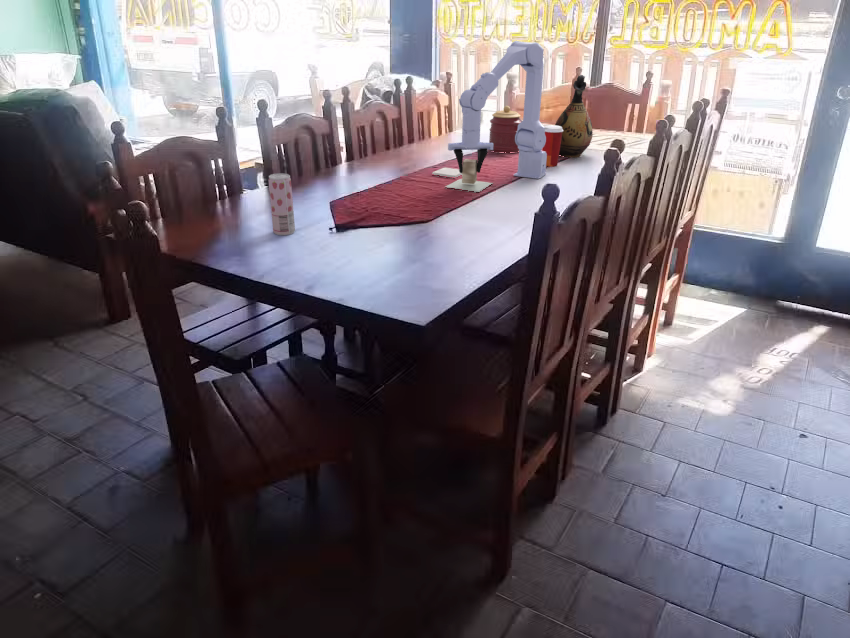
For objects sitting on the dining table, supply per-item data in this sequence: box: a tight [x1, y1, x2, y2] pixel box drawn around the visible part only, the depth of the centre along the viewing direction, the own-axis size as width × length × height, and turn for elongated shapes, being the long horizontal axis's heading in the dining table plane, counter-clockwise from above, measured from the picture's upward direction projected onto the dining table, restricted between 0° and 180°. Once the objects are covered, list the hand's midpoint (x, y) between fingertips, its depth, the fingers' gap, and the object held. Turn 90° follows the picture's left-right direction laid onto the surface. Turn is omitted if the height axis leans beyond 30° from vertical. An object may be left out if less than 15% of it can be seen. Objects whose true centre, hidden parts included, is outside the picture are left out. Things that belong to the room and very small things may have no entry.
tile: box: [431, 167, 462, 178], centre depth 234 cm, size 2×9×9 cm
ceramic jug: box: [554, 74, 594, 159], centre depth 258 cm, size 17×15×30 cm
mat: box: [444, 178, 494, 193], centre depth 219 cm, size 12×12×1 cm
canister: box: [488, 105, 523, 153], centre depth 267 cm, size 13×13×18 cm
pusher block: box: [461, 158, 478, 184], centre depth 217 cm, size 4×4×7 cm
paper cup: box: [541, 124, 563, 168], centre depth 245 cm, size 8×8×14 cm
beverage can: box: [268, 172, 296, 236], centre depth 172 cm, size 6×6×15 cm
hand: (469, 172), depth 217 cm, fingers closed on pusher block, 5 cm apart
